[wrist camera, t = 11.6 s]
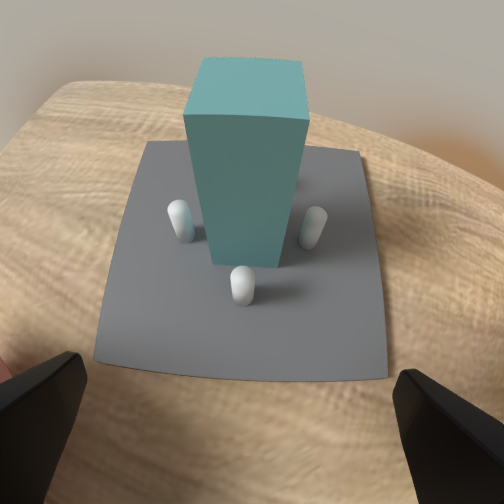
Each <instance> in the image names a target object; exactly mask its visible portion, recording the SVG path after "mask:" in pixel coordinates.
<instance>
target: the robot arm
mask: <svg viewBox="0 0 504 504" xmlns="http://www.w3.org/2000/svg"><path fill="white" fill-rule="evenodd" d="M86 384H87V373H86V370H85V367H84V363H83V360H82V357H81V355H80V354H79V353H76V352H71V351H66V352H64V353H62V354H60V355H58V356H56V357H54V358H51V359H49V360H47V361H45V362H43V363H41V364H39V365H37V366H35V367H33V368H31V369H29V370H27V371H25V372H23V373H20V374H18V375H16V376H14V377H12V378H10V379H8V380H6V381H4V382H2V383H0V504H43V503H44V500H45V497H46V494H47V492H48V489H49V486H50V483H51V480H52V478H53V475H54V472H55V470H56V467H57V464H58V462H59V459H60V457H61V454H62V452H63V449H64V447H65V444H66V442H67V439H68V437H69V435H70V432H71V430H72V427H73V425H74V422H75V419H76V416H77V412H78V409H79V406H80V403H81V399H82V396H83V393H84V390H85V387H86ZM392 397H393V403H394V408H395V412H396V417H397V422H398V428H399V433H400V438H401V442H402V446H403V449H404V452H405V456H406V459H407V462H408V466H409V469H410V473H411V476H412V480H413V484H414V487H415V491H416V495H417V499H418V502H419V504H504V425H503V423H502V422H500V421H498V420H497V419H495V418H493V417H492V416H490V415H489V414H487V413H485V412H484V411H482V410H481V409H479V408H477V407H476V406H474V405H473V404H471V403H469V402H468V401H466V400H465V399H463V398H461V397H460V396H458V395H457V394H455V393H453V392H452V391H450V390H449V389H447V388H445V387H444V386H442V385H441V384H439V383H437V382H436V381H434V380H433V379H431V378H429V377H428V376H426V375H425V374H423V373H422V372H420V371H418V370H417V369H404V370H402V371H401V372H400V374H399V377H398V380H397V382H396V385H395V387H394V390H393V395H392Z"/></svg>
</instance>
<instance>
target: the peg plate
mask: <svg viewBox="0 0 504 504" xmlns="http://www.w3.org/2000/svg"><path fill="white" fill-rule="evenodd" d="M93 361H95V362H99V363H104V364H109V365H115V366H120V367H126V368H132V369H138V370H145V371H152V372H159V373H167V374H175V375H184V376H193V377H203V378H215V379H228V380H245V381H269V382H333V381H356V380H373V379H384V378H388V359H387V339H386V323H385V310H384V299H383V289H382V280H381V272H380V264H379V256H378V249H377V242H376V235H375V229H374V223H373V217H372V211H371V206H370V200H369V195H368V190H367V185H366V180H365V175H364V171H363V166H362V162H361V157H360V153H359V151H352V150H344V149H335V148H326V147H316V146H306V145H304V150H303V155H302V160H301V164H300V169H299V174H298V178H297V183H296V188H295V192H294V197H293V201H292V206H291V211H290V215H289V220H288V224H287V228H286V233H285V237H284V242H283V246H282V250H281V255H280V259H279V263H278V267H277V268H267V267H249V266H232V265H215V264H213V263H212V259H211V254H210V250H209V245H208V240H207V236H206V231H205V226H204V221H203V217H202V212H201V207H200V202H199V197H198V192H197V187H196V182H195V177H194V172H193V166H192V161H191V156H190V150H189V145H188V141H148V142H147V144H146V147H145V150H144V153H143V155H142V158H141V161H140V164H139V167H138V170H137V173H136V176H135V179H134V182H133V185H132V188H131V191H130V195H129V198H128V201H127V205H126V208H125V211H124V215H123V218H122V222H121V226H120V229H119V233H118V237H117V240H116V244H115V248H114V252H113V256H112V261H111V265H110V269H109V274H108V278H107V283H106V288H105V292H104V297H103V302H102V308H101V313H100V319H99V324H98V331H97V337H96V343H95V350H94V357H93Z"/></svg>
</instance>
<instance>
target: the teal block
mask: <svg viewBox="0 0 504 504" xmlns="http://www.w3.org/2000/svg"><path fill="white" fill-rule="evenodd" d="M183 117H184V123H185V128H186V134H187V139H188V145H189V150H190V156H191V161H192V166H193V172H194V177H195V182H196V187H197V192H198V197H199V202H200V207H201V212H202V217H203V221H204V226H205V231H206V236H207V240H208V245H209V250H210V254H211V259H212V263H213V264H215V265H232V266H249V267H267V268H277V267H278V263H279V259H280V255H281V250H282V246H283V242H284V237H285V233H286V228H287V224H288V220H289V215H290V211H291V206H292V201H293V197H294V192H295V188H296V183H297V178H298V174H299V169H300V164H301V160H302V155H303V150H304V145H305V140H306V135H307V131H308V126H309V121H310V118H309V110H308V103H307V95H306V88H305V80H304V74H303V67H302V62H300V61H290V60H277V59H263V58H262V59H261V58H232V57H230V58H229V57H228V58H227V57H225V58H224V57H222V58H221V57H220V58H218V57H215V58H203V61H202V63H201V66H200V68H199V72H198V74H197V76H196V79H195V82H194V85H193V87H192V90H191V93H190V96H189V99H188V102H187V104H186V107H185V110H184V113H183Z"/></svg>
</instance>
